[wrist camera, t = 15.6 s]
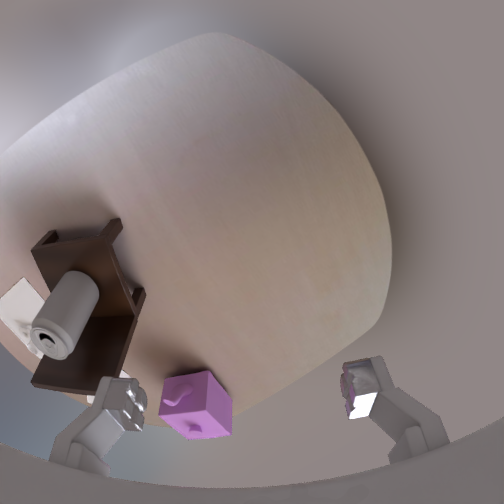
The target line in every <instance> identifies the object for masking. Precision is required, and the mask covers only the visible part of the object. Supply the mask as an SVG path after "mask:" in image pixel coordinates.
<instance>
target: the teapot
mask: <svg viewBox="0 0 504 504" xmlns="http://www.w3.org/2000/svg"><path fill="white" fill-rule="evenodd" d="M158 415H159V416H160V417H161V418H162V419H163V420H164V421H165V422H167V423H168V424H169V425H170V426H171V427H173V428H174V429H175V430H177V431H178V432H179V433H180V434H182V435H183V436H184V437H185V438H187V439H188V440H192V439H202V438H214V437H221V436H229V435H232V399H231V398H230V397H229V395H228V394H227V393H226V392H225V391H224V388H223V387H221V386H220V384H219V383H218V382H217V381H216V379H215V378H214V377H213V374H212V373H211V372H210V371H202V372H199V373H194V374H189V375H183V376H176V377H171V378H165V381H164V386H163V392H162V397H161V403H160V408H159V414H158Z"/></svg>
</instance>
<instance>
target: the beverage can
mask: <svg viewBox="0 0 504 504" xmlns="http://www.w3.org/2000/svg"><path fill="white" fill-rule="evenodd" d="M98 299H99V290H98V288H97V286H96V284H95V282H94V281H93V280H92V279H91V278H90V277H89V276H88V275H86V274H84V273H82V272H79V271H69V272H67V273H65V274H64V276H63V277H62V278H61V280H60V281H59V283H58V284H57V285H56V287H55V288H54V290H53V291H52V293H51V294H50V295H49V297H48V298H47V300H46V301H45V303H44V304H43V306H42V307H41V309H40V311H39V312H38V314H37V315H36V317H35V318H34V320H33V321H32V325H31V328H32V329H31V330H30V338H31V340H32V342H33V344H34V345H35V346H36V347H37V348H38V349H39V350H40V351H41V352H42V353H44V354H45V355H47V356H49V357H51V358H53V359H57V360H64V359H66V358H67V356H68V355H69V354H71V353H72V352H73V350H74V348H75V346H76V344H77V342H78V340H79V338H80V335H81V333H82V331H83V329H84V327H85V325H86V323H87V321H88V319H89V317H90V315H91V313H92V311H93V309H94V307H95V305H96V304H97V302H98Z"/></svg>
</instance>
